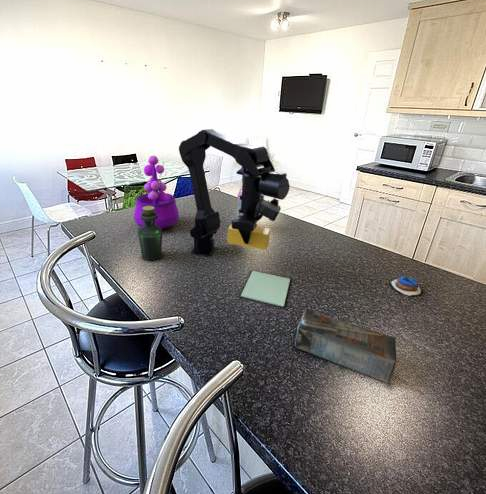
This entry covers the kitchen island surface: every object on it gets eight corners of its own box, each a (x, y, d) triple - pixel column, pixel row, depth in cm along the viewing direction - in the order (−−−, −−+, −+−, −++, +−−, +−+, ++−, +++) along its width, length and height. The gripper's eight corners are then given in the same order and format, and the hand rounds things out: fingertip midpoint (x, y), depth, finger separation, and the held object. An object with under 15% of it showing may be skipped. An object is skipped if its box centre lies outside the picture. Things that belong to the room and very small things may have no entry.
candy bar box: (237, 223, 130) (239, 188, 123) (249, 224, 129) (251, 189, 123) (234, 234, 120) (236, 195, 113) (246, 235, 119) (249, 197, 113)
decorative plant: (126, 229, 122) (118, 157, 110) (150, 214, 138) (146, 150, 125) (165, 238, 115) (161, 162, 103) (186, 221, 131) (185, 153, 119)
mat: (240, 296, 82) (240, 295, 82) (252, 271, 94) (252, 270, 94) (283, 307, 78) (283, 306, 78) (290, 279, 90) (290, 278, 90)
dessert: (405, 295, 83) (402, 274, 84) (387, 295, 89) (385, 275, 91) (429, 295, 84) (426, 274, 85) (410, 295, 91) (407, 275, 92)
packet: (227, 243, 90) (228, 228, 88) (231, 237, 94) (232, 223, 92) (266, 249, 86) (267, 234, 84) (268, 243, 90) (270, 228, 88)
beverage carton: (301, 326, 72) (305, 304, 69) (390, 358, 64) (398, 335, 61) (293, 348, 66) (297, 325, 63) (390, 386, 57) (400, 362, 55)
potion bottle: (165, 260, 100) (163, 211, 92) (141, 263, 97) (136, 213, 90) (161, 249, 107) (159, 202, 99) (139, 252, 104) (134, 204, 97)
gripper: (274, 205, 73) (268, 259, 79) (284, 186, 89) (279, 232, 95) (232, 199, 76) (229, 252, 83) (249, 182, 93) (246, 227, 99)
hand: (248, 240), depth 90 cm, fingers closed on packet, 4 cm apart
